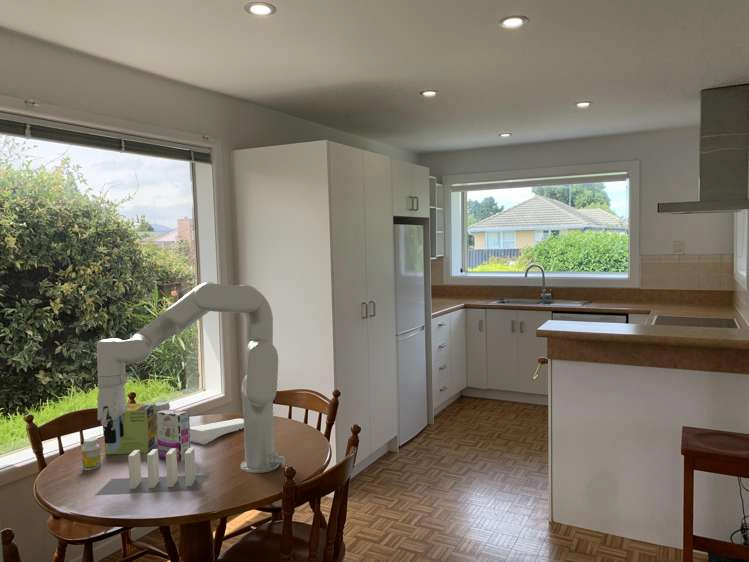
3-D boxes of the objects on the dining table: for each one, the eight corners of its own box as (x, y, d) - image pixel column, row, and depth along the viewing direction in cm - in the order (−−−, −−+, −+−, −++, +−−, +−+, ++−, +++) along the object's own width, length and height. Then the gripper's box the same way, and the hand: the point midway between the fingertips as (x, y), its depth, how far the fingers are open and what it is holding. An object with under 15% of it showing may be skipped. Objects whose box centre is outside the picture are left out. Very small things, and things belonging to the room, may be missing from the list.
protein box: (149, 452, 202) (147, 409, 201) (104, 455, 201) (102, 411, 200) (158, 443, 212) (156, 402, 212) (115, 445, 211) (113, 404, 210)
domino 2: (159, 480, 174) (158, 449, 174) (153, 487, 169) (152, 454, 169) (154, 481, 174) (152, 449, 174) (148, 487, 169) (147, 455, 169)
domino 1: (141, 481, 174) (139, 449, 174) (135, 488, 169) (133, 455, 169) (136, 482, 174) (134, 450, 174) (129, 488, 169) (128, 455, 169)
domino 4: (195, 479, 175) (194, 447, 174) (191, 485, 170) (189, 453, 169) (190, 479, 175) (189, 447, 174) (185, 486, 170) (184, 453, 169)
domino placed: (120, 446, 173) (119, 413, 173) (114, 451, 168) (112, 418, 168) (115, 446, 173) (113, 414, 173) (108, 451, 168) (107, 418, 168)
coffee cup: (151, 430, 228) (150, 401, 228) (173, 429, 229) (172, 399, 228) (145, 437, 220) (144, 406, 219) (168, 435, 221) (166, 405, 220)
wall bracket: (238, 436, 236) (185, 448, 212) (236, 418, 237) (183, 428, 213) (256, 433, 231) (203, 445, 207) (254, 415, 233) (201, 425, 209)
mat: (208, 476, 179) (208, 474, 179) (199, 491, 167) (199, 490, 167) (111, 480, 177) (111, 478, 177) (94, 496, 165) (94, 495, 165)
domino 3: (177, 480, 175) (176, 448, 174) (172, 486, 170) (171, 453, 169) (172, 480, 175) (170, 448, 174) (167, 487, 170) (165, 454, 169)
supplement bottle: (100, 469, 187) (99, 440, 187) (82, 472, 185) (81, 443, 184) (100, 463, 192) (99, 435, 192) (83, 466, 190) (81, 438, 189)
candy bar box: (192, 458, 195) (190, 411, 194) (180, 463, 190) (178, 415, 190) (168, 453, 200) (166, 408, 199) (157, 458, 196) (155, 411, 195)
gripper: (110, 374, 178) (113, 431, 179) (86, 387, 161) (88, 450, 162) (135, 373, 178) (137, 430, 179) (113, 386, 162) (115, 449, 162)
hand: (114, 439), depth 171 cm, fingers closed on domino placed, 4 cm apart
